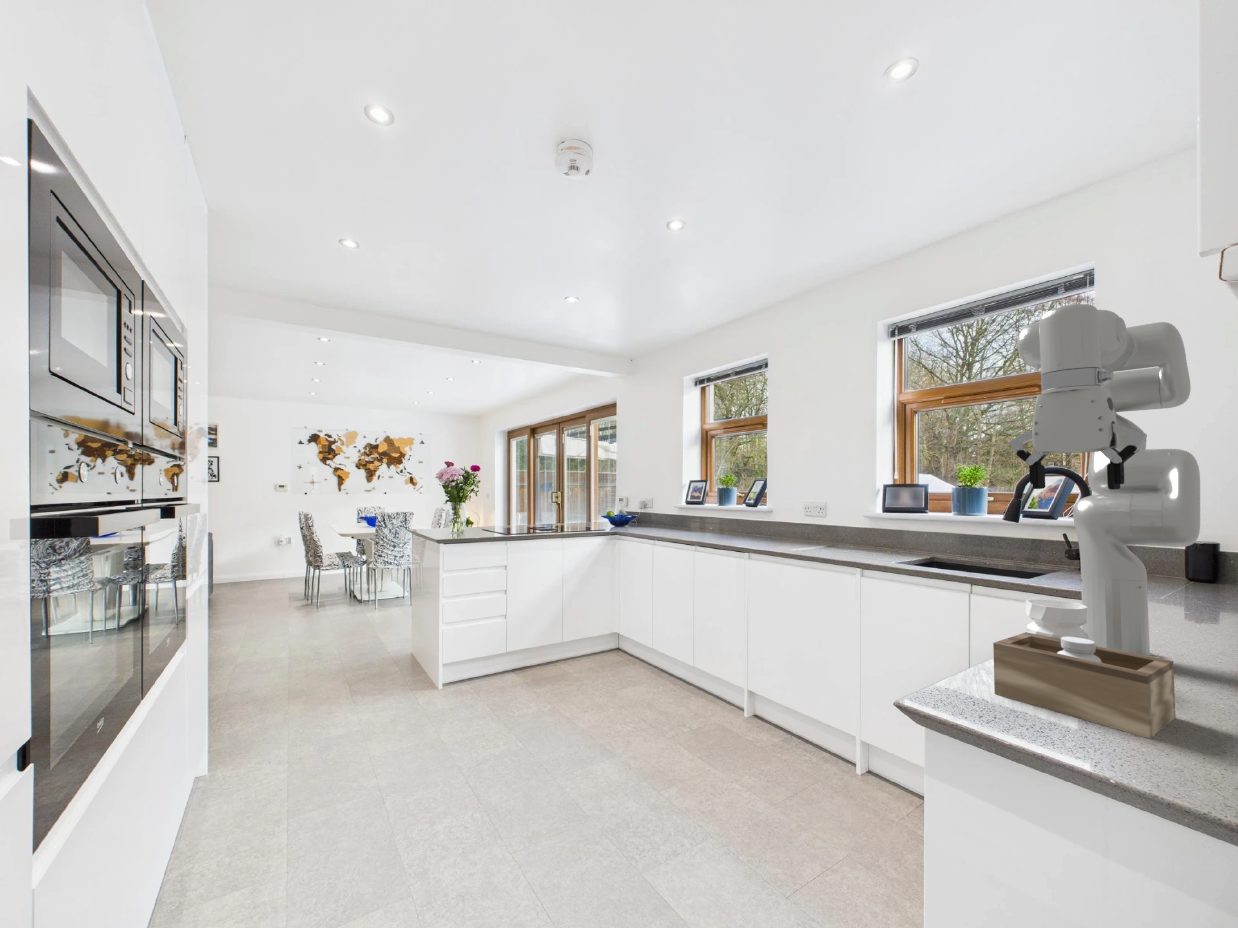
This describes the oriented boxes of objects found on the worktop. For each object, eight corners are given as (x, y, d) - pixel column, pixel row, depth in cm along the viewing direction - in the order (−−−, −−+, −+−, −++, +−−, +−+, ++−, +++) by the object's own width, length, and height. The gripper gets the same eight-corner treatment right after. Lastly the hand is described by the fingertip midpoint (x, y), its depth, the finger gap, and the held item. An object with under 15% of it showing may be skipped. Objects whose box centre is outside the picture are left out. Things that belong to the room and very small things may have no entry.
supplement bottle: (1113, 713, 78) (1110, 645, 78) (1070, 710, 79) (1068, 643, 80) (1089, 699, 83) (1086, 636, 84) (1049, 696, 84) (1047, 634, 85)
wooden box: (1027, 679, 92) (1025, 632, 92) (1175, 717, 77) (1173, 660, 77) (994, 693, 85) (993, 642, 86) (1149, 738, 70) (1147, 676, 71)
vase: (1048, 661, 102) (1046, 597, 103) (1102, 676, 94) (1099, 607, 94) (1015, 665, 99) (1013, 600, 100) (1068, 682, 91) (1065, 610, 91)
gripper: (1150, 376, 82) (1155, 488, 82) (1018, 392, 97) (1022, 487, 96) (1135, 372, 78) (1140, 490, 78) (999, 389, 92) (1003, 489, 92)
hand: (1075, 488), depth 87 cm, fingers open, 9 cm apart
